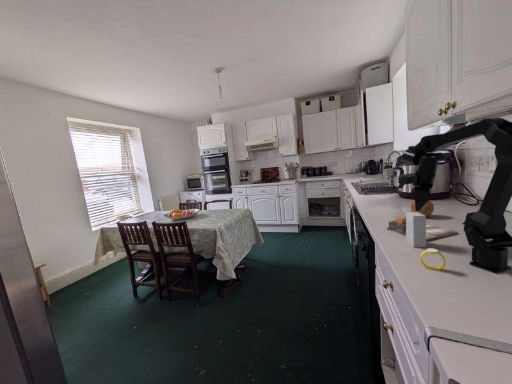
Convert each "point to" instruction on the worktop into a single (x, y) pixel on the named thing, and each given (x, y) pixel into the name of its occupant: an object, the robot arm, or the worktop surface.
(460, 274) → the worktop surface
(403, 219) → the button
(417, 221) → the skincare box
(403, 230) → the square tray
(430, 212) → the onion
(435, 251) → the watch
